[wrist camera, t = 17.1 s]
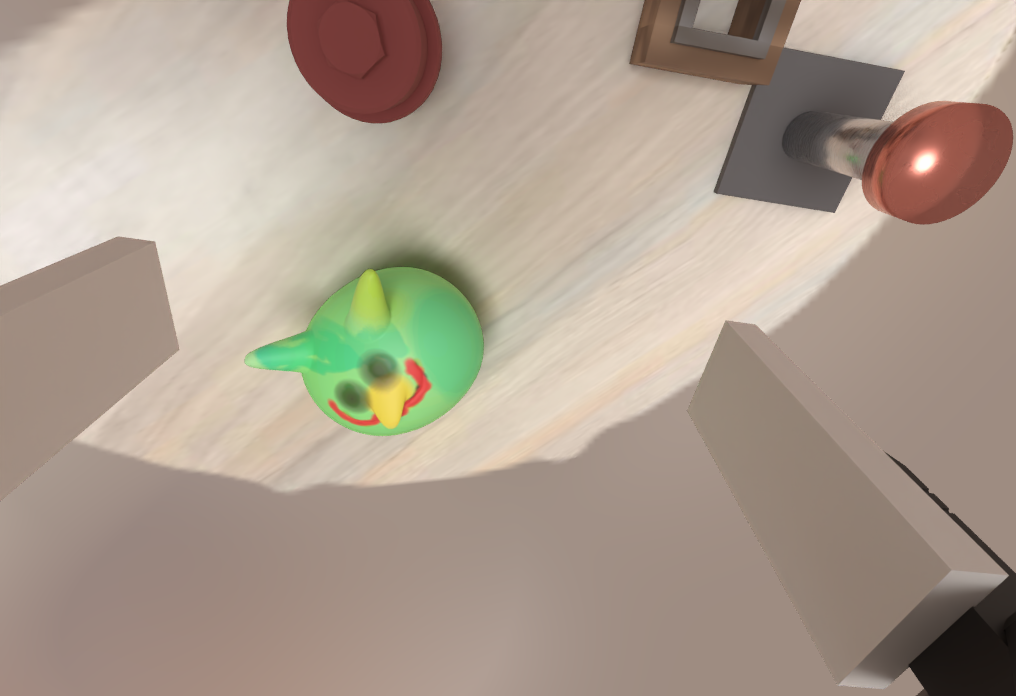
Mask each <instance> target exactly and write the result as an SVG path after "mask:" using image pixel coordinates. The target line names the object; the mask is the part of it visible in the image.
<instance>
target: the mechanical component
mask: <svg viewBox="0 0 1016 696" xmlns="http://www.w3.org/2000/svg"><path fill="white" fill-rule="evenodd" d="M287 32H288V39H289V44H290V48H291V51H292V54H293V57H294V59H295V62H296V64H297V66H298V68H299V70H300V72H301V74H302V75H303V76H304V78H305V79H306V81H307V82H308V84H309V85H310V86H311V87H312V88H313V89H314V90H315V91H316V92H317V93H318V94H319V95H320V96H321V97H322V98H323V99H324V100H325V101H326V102H327V103H329V104H330V105H331V106H332V107H333V108H335V109H336V110H338V111H339V112H341V113H342V114H344V115H346V116H348V117H351V118H353V119H356V120H359V121H362V122H368V123H387V122H392V121H395V120H398V119H401V118H403V117H405V116H407V115H409V114H411V113H412V112H414V111H415V110H416V109H418V108H419V107H420V106H421V105H422V104H423V103H424V102H425V100H426V99H427V98H428V97H429V95H430V93H431V92H432V90H433V88H434V86H435V84H436V81H437V79H438V75H439V71H440V67H441V60H442V41H441V33H440V28H439V24H438V20H437V17H436V14H435V12H434V9H433V7H432V5H431V3H430V1H429V0H290V1H289V6H288V12H287Z"/></svg>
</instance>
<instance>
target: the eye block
mask: <svg viewBox="0 0 1016 696" xmlns="http://www.w3.org/2000/svg"><path fill="white" fill-rule="evenodd" d="M800 2H801V0H739V2H738V5H737V8H736V11H735V14H734V17H733V20H732V23H731V27H730V30H729V33H728V35H726V34H721V33H715V32H710V31H705V30H700V29H695V28H692V27H693V24H694V20H695V17H696V13H697V10H698V6H699V3H700V0H645V2H644V6H643V10H642V14H641V18H640V22H639V27H638V31H637V35H636V39H635V43H634V47H633V51H632V55H631V60H630V64H633V65H639V66H644V67H650V68H655V69H661V70H666V71H671V72H677V73H682V74H688V75H693V76H699V77H704V78H710V79H715V80H720V81H726V82H731V83H737V84H747V85H769V84H770V81H771V79H772V76H773V73H774V71H775V68H776V66H777V63H778V60H779V58H780V55H781V52H782V50H783V47H784V44H785V42H786V39H787V36H788V34H789V31H790V28H791V26H792V23H793V20H794V18H795V15H796V12H797V10H798V7H799V4H800Z"/></svg>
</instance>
